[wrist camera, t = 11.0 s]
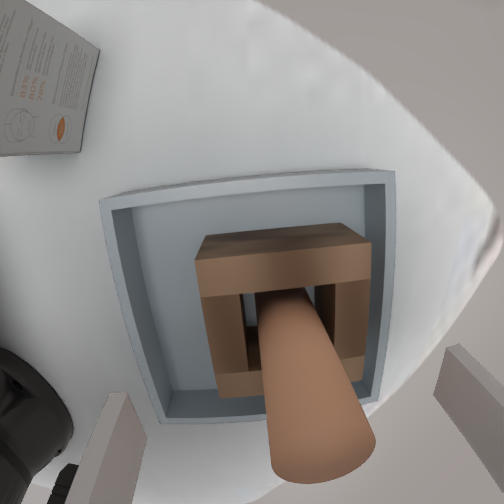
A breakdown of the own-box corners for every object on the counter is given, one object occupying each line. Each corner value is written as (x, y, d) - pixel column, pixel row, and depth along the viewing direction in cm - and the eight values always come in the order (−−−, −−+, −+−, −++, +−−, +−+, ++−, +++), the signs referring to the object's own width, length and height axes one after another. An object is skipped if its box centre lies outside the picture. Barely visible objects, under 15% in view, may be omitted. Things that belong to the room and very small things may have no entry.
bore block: (223, 351, 23) (219, 398, 18) (205, 235, 21) (194, 260, 15) (339, 337, 23) (362, 380, 18) (340, 222, 21) (371, 242, 15)
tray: (168, 392, 25) (159, 423, 21) (122, 192, 20) (98, 200, 16) (362, 371, 25) (377, 400, 21) (369, 168, 20) (395, 171, 16)
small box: (37, 56, 17) (-76, 15, 4) (102, 48, 17) (-8, -25, 5) (19, 152, 19) (-110, 166, 6) (81, 155, 19) (-59, 165, 7)
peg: (256, 318, 22) (273, 489, 9) (252, 272, 21) (268, 432, 8) (304, 312, 22) (367, 472, 9) (303, 267, 21) (383, 412, 8)
